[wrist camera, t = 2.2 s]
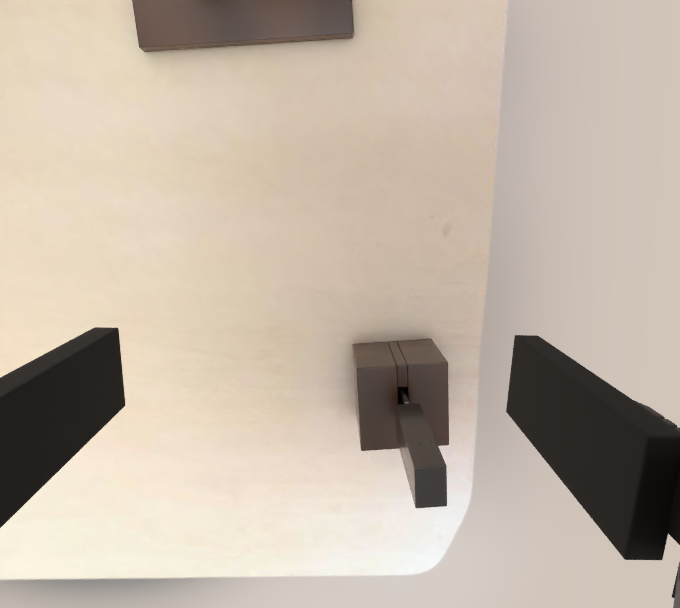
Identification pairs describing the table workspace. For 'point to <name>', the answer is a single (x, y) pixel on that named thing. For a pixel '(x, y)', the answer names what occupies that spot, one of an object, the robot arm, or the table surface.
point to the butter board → (238, 22)
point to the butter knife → (420, 454)
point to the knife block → (382, 392)
